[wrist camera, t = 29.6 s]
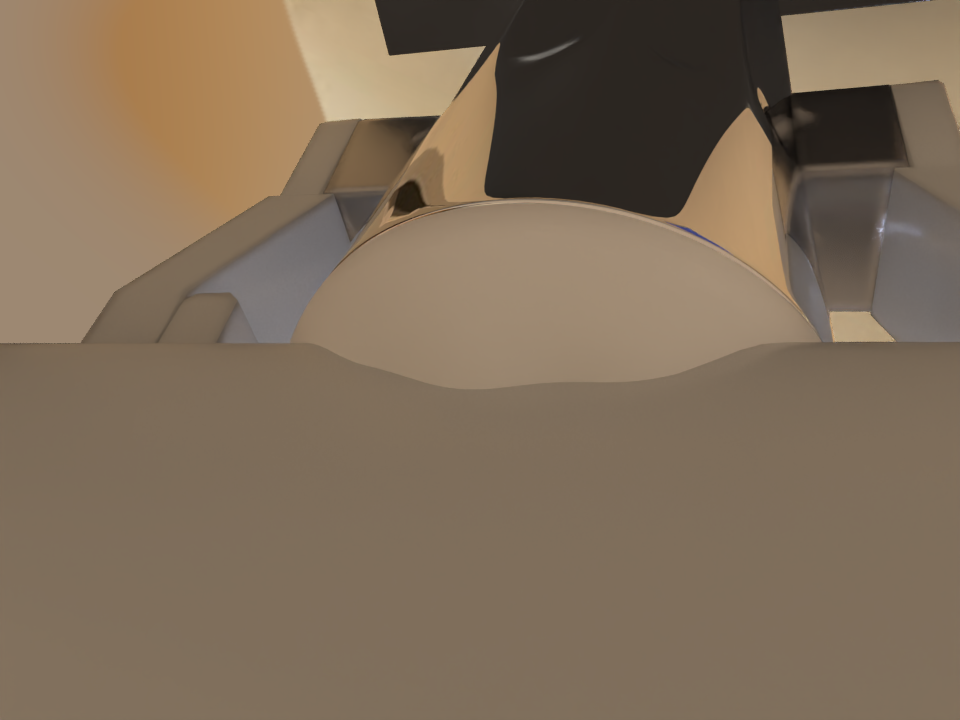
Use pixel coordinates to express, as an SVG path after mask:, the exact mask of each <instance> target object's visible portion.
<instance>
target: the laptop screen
mask: <svg viewBox="0 0 960 720" xmlns="http://www.w3.org/2000/svg"><path fill="white" fill-rule="evenodd" d="M778 1H779V8H780V14H781V16H784V15H794V14H803V13H813V12H823V11H833V10H843V9H853V8H862V7H872V6H882V5H892V4H902V3H912V2H921V1H931V0H778ZM513 2H514V0H375V3H376V7H377V10H378V14H379V18H380V22H381V26H382V30H383V34H384V38H385V42H386V46H387V49H388V53H389V55H400V54H410V53H420V52H430V51H440V50H450V49H459V48H469V47H479V46H487V44H488V42H489V41H490V39H491V38H492V36H493V34H494V33H495V31H496V29H497V28H498V26H499V25H500V23H501V21H502V20H503V18H504V16H505V15H506V13H507V11H508V10H509V8H510V7H511V5H512V3H513Z"/></svg>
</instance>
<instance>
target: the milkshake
mask: <svg viewBox="0 0 960 720" xmlns="http://www.w3.org/2000/svg"><path fill="white" fill-rule="evenodd" d="M791 93H792V89H791V82H790V75H789V69H788V62H787V55H786V48H785V41H784V35H783V28H782V21H781V14H780V8H779V1H778V0H514V2H513V3H512V5H511V7H510V8H509V10H508V11H507V13H506V15H505V16H504V18H503V20H502V21H501V23H500V25H499V26H498V28H497V29H496V31H495V33H494V34H493V36H492V38H491V39H490V41H489V42H488V44H487V46H486V47H485V49H484V51H483V52H482V54H481V55H480V57H479V59H478V60H477V62H476V64H475V65H474V67H473V68H472V70H471V72H470V73H469V75H468V77H467V78H466V80H465V81H464V83H463V85H462V86H461V88H460V89H459V91H458V93H457V94H456V96H455V98H454V99H453V101H452V102H451V104H450V106H449V107H448V108H447V109H446V110H445V112H444V113H443V114H442V115H441V116H440V118H439V119H438V120H437V121H436V123H435V124H434V125H433V126H432V128H431V129H430V130H429V132H428V133H427V134H426V136H425V137H424V138H423V140H422V141H421V143H420V144H419V145H418V147H417V148H416V150H415V151H414V152H413V154H412V155H411V157H410V158H409V159H408V161H407V162H406V164H405V165H404V167H403V168H402V169H401V171H400V172H399V174H398V175H397V177H396V178H395V179H394V181H393V182H392V184H391V185H390V187H389V188H388V189H387V191H386V192H385V194H384V195H383V197H382V198H381V200H380V201H379V202H378V204H377V205H376V207H375V208H374V210H373V211H372V212H371V214H370V215H369V217H368V218H367V220H366V221H365V222H364V224H363V225H362V227H361V228H360V230H359V231H358V233H357V234H356V235H355V237H354V238H353V240H352V241H351V243H350V244H349V246H348V247H347V248H346V250H345V251H344V253H343V254H342V256H341V257H340V258H339V260H338V261H337V263H336V264H335V266H334V267H333V269H332V270H331V272H330V273H329V275H328V276H327V278H326V279H325V281H324V282H323V283H322V285H321V286H320V287H319V289H318V290H317V291H316V293H315V294H314V296H313V297H312V299H311V300H310V302H309V303H308V305H307V306H306V308H305V310H304V312H303V314H302V316H301V318H300V320H299V322H298V324H297V326H296V328H295V330H294V332H293V335H292V338H291V340H290V343H311V344H315V345H319V346H321V347H323V348H326V349H328V350H330V351H332V352H333V353H335V354H337V355H339V356H341V357H343V358H346V359H348V360H350V361H353V362H355V363H358V364H362V365H366V366H370V367H374V368H378V369H381V370H385V371H388V372H392V373H395V374H399V375H402V376H405V377H408V378H411V379H415V380H418V381H421V382H425V383H428V384H432V385H436V386H441V387H447V388H455V389H493V388H504V387H512V386H521V385H529V384H539V383H553V382H630V381H641V380H649V379H655V378H660V377H665V376H670V375H674V374H678V373H681V372H684V371H686V370H689V369H692V368H695V367H697V366H700V365H703V364H706V363H708V362H711V361H713V360H716V359H719V358H721V357H724V356H726V355H729V354H732V353H734V352H737V351H739V350H742V349H746V348H750V347H754V346H757V345H761V344H770V343H782V342H835V338H834V333H833V328H832V323H831V318H830V313H829V308H828V303H827V298H826V293H825V288H824V283H823V278H822V273H821V268H820V263H819V258H818V253H817V247H816V242H815V237H814V232H813V227H812V222H811V217H810V212H809V206H808V201H807V195H806V189H805V185H804V182H803V178H802V176H801V173H800V170H799V164H798V159H797V152H796V146H795V133H796V132H797V129H796V126H795V124H794V122H793V120H792V114H791V104H790V96H789V95H790V94H791Z"/></svg>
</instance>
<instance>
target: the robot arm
mask: <svg viewBox="0 0 960 720" xmlns="http://www.w3.org/2000/svg"><path fill="white" fill-rule="evenodd" d="M789 96H790V104H791V114H792V120H793V122H794V124H795V126H796V129H797V132H796V133H795V146H796V152H797V159H798V164H799V170H800V173H801V176H802V178H803V182H804V185H805V189H806V195H807V201H808V206H809V212H810V217H811V222H812V227H813V232H814V237H815V242H816V247H817V253H818V258H819V263H820V268H821V273H822V278H823V283H824V288H825V293H826V298H827V303H828V308H829V311H857V312H871V316H872V317H873V318H874V319H875V320H876V321H877V322H878V323H879V324H880V325H881V326H882V327H883V328H884V329H885V330H886V331H887V332H888V333H889V334H890V335H891V336H892V337H893V338H894V339H895V340H896V341H897V342H782V343H770V344H761V345H757V346H754V347H750V348H746V349H742V350H739V351H737V352H734V353H732V354H729V355H726V356H724V357H721V358H719V359H716V360H713V361H711V362H708V363H706V364H703V365H700V366H697V367H695V368H692V369H689V370H686V371H684V372H681V373H678V374H674V375H670V376H665V377H660V378H655V379H649V380H641V381H630V382H553V383H539V384H529V385H521V386H512V387H504V388H493V389H455V388H447V387H441V386H436V385H432V384H428V383H425V382H421V381H418V380H415V379H411V378H408V377H405V376H402V375H399V374H395V373H392V372H388V371H385V370H381V369H378V368H374V367H370V366H366V365H362V364H358V363H355V362H353V361H350V360H348V359H346V358H343V357H341V356H339V355H337V354H335V353H333V352H332V351H330V350H328V349H326V348H323V347H321V346H319V345H315V344H311V343H290V340H291V338H292V335H293V332H294V330H295V328H296V326H297V324H298V322H299V320H300V318H301V316H302V314H303V312H304V310H305V308H306V306H307V305H308V303H309V302H310V300H311V299H312V297H313V296H314V294H315V293H316V291H317V290H318V289H319V287H320V286H321V285H322V283H323V282H324V281H325V279H326V278H327V276H328V275H329V273H330V272H331V270H332V269H333V267H334V266H335V264H336V263H337V261H338V260H339V258H340V257H341V256H342V254H343V253H344V251H345V250H346V248H347V247H348V246H349V244H350V243H351V241H352V240H353V238H354V237H355V235H356V234H357V233H358V231H359V230H360V228H361V227H362V225H363V224H364V222H365V221H366V220H367V218H368V217H369V215H370V214H371V212H372V211H373V210H374V208H375V207H376V205H377V204H378V202H379V201H380V200H381V198H382V197H383V195H384V194H385V192H386V191H387V189H388V188H389V187H390V185H391V184H392V182H393V181H394V179H395V178H396V177H397V175H398V174H399V172H400V171H401V169H402V168H403V167H404V165H405V164H406V162H407V161H408V159H409V158H410V157H411V155H412V154H413V152H414V151H415V150H416V148H417V147H418V145H419V144H420V143H421V141H422V140H423V138H424V137H425V136H426V134H427V133H428V132H429V130H430V129H431V128H432V126H433V125H434V124H435V123H436V121H437V120H438V119H439V118H440V116H423V117H401V118H379V119H364V120H362V119H351V120H340V121H329V122H324V123H321V124H319V126H318V127H317V129H316V131H315V133H314V135H313V137H312V138H311V140H310V142H309V144H308V146H307V147H306V149H305V151H304V153H303V155H302V157H301V158H300V160H299V162H298V164H297V166H296V168H295V169H294V171H293V173H292V175H291V177H290V179H289V180H288V182H287V184H286V186H285V188H284V189H283V192H282V193H281V195H280V196H269V197H267V198H265V199H264V200H262V201H260V202H259V203H257V204H256V205H254V206H252V207H251V208H249V209H248V210H246V211H244V212H243V213H241V214H239V215H238V216H236V217H235V218H233V219H231V220H230V221H228V222H227V223H225V224H223V225H222V226H220V227H219V228H217V229H216V230H214V231H212V232H211V233H209V234H207V235H206V236H204V237H202V238H201V239H199V240H198V241H196V242H194V243H193V244H191V245H189V246H188V247H186V248H185V249H183V250H182V251H180V252H178V253H177V254H175V255H173V256H172V257H170V258H169V259H167V260H166V261H164V262H162V263H160V264H159V265H157V266H156V267H154V268H153V269H151V270H149V271H148V272H146V273H144V274H143V275H141V276H140V277H138V278H136V279H135V280H133V281H132V282H130V283H128V284H127V285H125V286H123V287H122V288H120V289H119V290H117V291H115V292H114V294H113V295H112V297H111V298H110V300H109V301H108V303H107V304H106V306H105V307H104V309H103V310H102V312H101V313H100V315H99V316H98V318H97V319H96V321H95V322H94V324H93V325H92V327H91V328H90V330H89V331H88V333H87V334H86V336H85V337H84V339H83V340H82V342H81V343H57V344H56V343H54V344H53V343H40V344H39V343H27V344H26V343H22V344H21V343H20V344H17V343H16V344H15V343H13V344H11V343H2V344H1V343H0V720H960V131H959V128H958V125H957V122H956V118H955V115H954V112H953V109H952V106H951V103H950V100H949V97H948V94H947V91H946V88H945V85H944V83H942V82H940V81H939V80H934V81H925V82H915V83H906V84H896V85H880V86H869V87H858V88H847V89H835V90H824V91H813V92H802V93H791V94H790V95H789Z"/></svg>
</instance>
